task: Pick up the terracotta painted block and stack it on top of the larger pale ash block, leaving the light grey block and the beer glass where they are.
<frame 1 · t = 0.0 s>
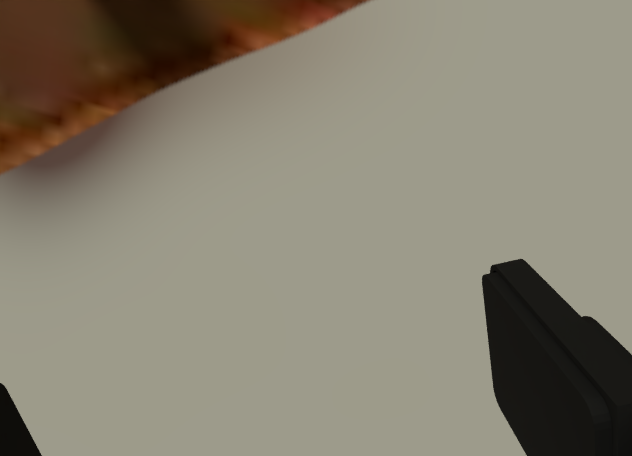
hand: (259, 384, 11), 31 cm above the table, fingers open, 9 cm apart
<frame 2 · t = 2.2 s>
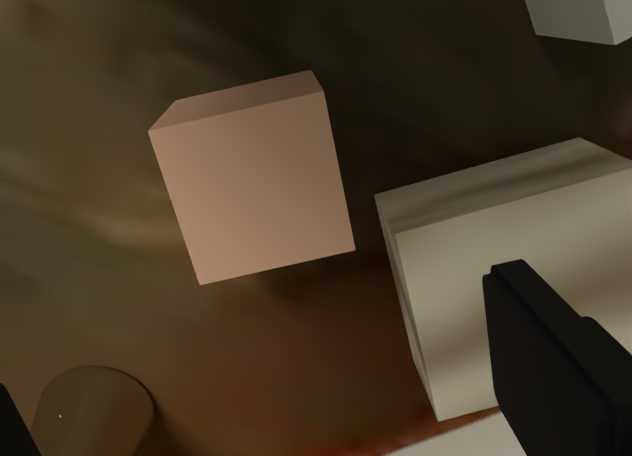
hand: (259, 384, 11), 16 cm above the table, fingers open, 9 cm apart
beer glass: (99, 409, 30), on the table
ash base block: (488, 254, 28), on the table
terracotta block: (260, 150, 25), on the table
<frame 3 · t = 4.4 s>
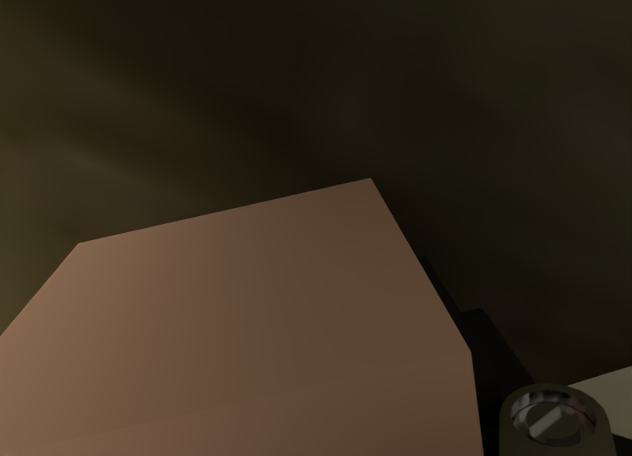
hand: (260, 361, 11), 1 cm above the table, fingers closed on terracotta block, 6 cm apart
terracotta block: (260, 335, 12), on the table, touching gripper
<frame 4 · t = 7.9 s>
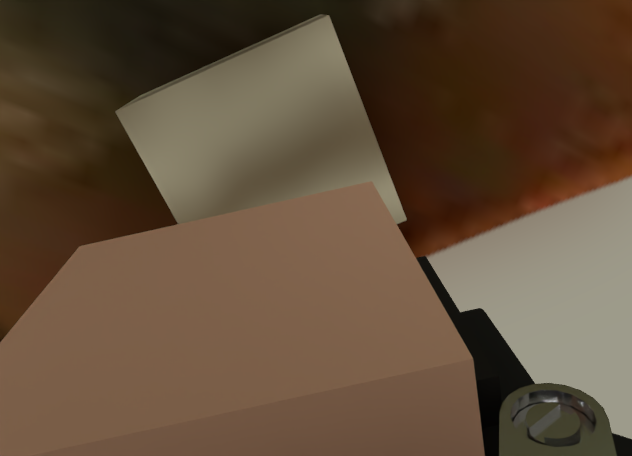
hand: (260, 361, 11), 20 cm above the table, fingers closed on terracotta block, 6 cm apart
ash base block: (269, 144, 30), on the table
terracotta block: (261, 338, 12), point 19 cm above the table, touching gripper
when the fingers open (6 cm above the table, at t = 11.6 s): terracotta block stays where it is, point 5 cm above the table.
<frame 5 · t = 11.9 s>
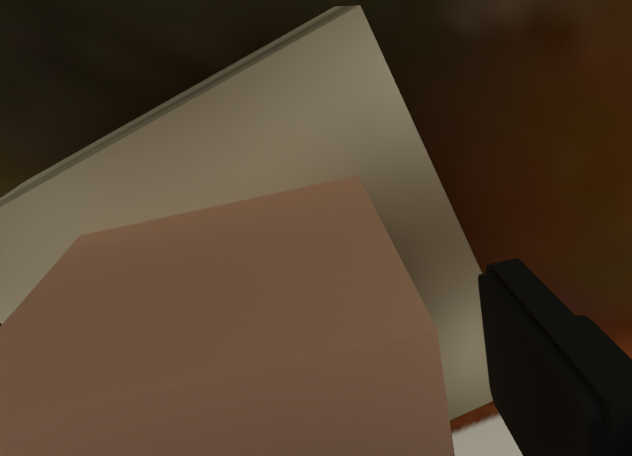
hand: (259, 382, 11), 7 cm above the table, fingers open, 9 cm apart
ash base block: (264, 237, 17), on the table
terracotta block: (252, 325, 13), point 5 cm above the table
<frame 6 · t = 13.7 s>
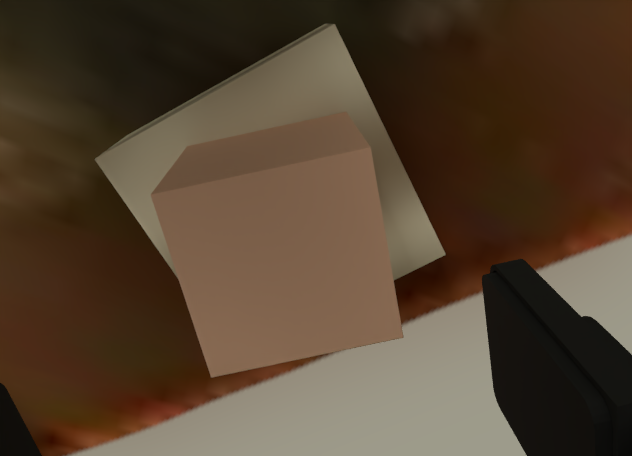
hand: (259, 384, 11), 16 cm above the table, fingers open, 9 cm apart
ash base block: (279, 175, 26), on the table, touching terracotta block
terracotta block: (284, 204, 21), point 5 cm above the table, touching ash base block
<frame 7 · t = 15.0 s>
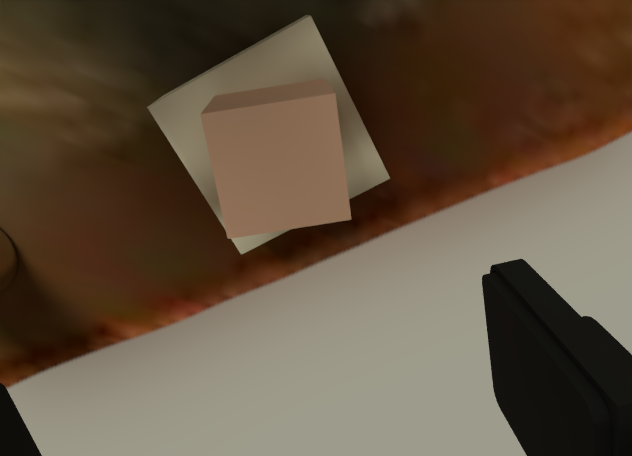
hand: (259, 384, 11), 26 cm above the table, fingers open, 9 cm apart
ash base block: (274, 126, 35), on the table, touching terracotta block
terracotta block: (278, 141, 31), point 5 cm above the table, touching ash base block
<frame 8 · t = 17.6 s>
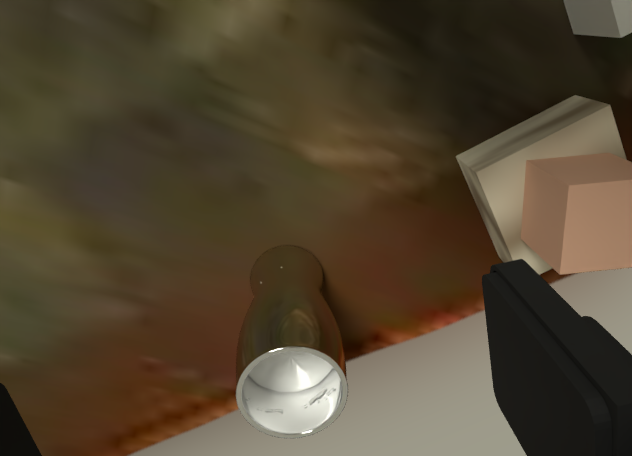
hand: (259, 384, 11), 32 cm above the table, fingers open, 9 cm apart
beer glass: (286, 277, 46), on the table
ash base block: (533, 179, 44), on the table
terracotta block: (563, 196, 40), point 5 cm above the table
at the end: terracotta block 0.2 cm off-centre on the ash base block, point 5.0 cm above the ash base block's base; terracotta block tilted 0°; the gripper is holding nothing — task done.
